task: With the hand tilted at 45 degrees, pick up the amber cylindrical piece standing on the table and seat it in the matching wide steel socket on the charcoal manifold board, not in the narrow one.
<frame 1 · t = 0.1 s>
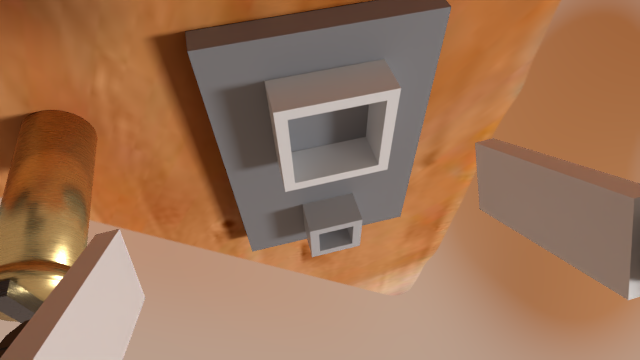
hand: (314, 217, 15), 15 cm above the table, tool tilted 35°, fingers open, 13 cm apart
manifold board: (320, 142, 35), on the table
amber cylindrical piece: (60, 135, 28), on the table
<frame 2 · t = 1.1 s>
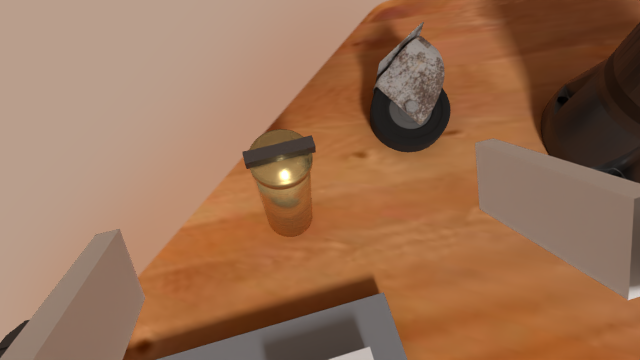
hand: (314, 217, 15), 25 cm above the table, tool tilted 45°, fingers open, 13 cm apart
caster wheel: (408, 113, 48), on the table
amber cylindrical piece: (290, 215, 42), on the table
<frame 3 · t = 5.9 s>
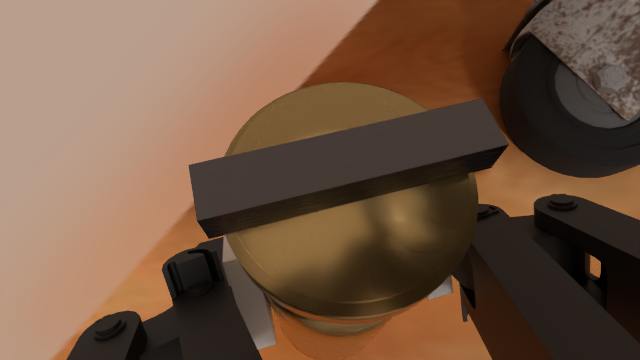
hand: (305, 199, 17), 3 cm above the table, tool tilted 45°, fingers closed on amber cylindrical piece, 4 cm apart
caster wheel: (570, 99, 24), on the table
amber cylindrical piece: (328, 306, 18), on the table, touching gripper
when the fingers open (7 cm above the table, at t = 11.5 s): amber cylindrical piece drops 1 cm, resting on manifold board.
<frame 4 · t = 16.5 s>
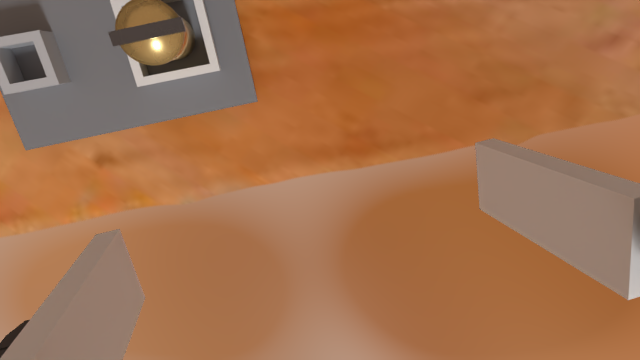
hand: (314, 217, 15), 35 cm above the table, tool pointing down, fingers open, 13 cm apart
manifold board: (125, 47, 43), on the table
amber cylindrical piece: (172, 37, 42), point 2 cm above the table, touching manifold board
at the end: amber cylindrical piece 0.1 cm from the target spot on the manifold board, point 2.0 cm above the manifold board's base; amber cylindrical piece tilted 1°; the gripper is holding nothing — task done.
